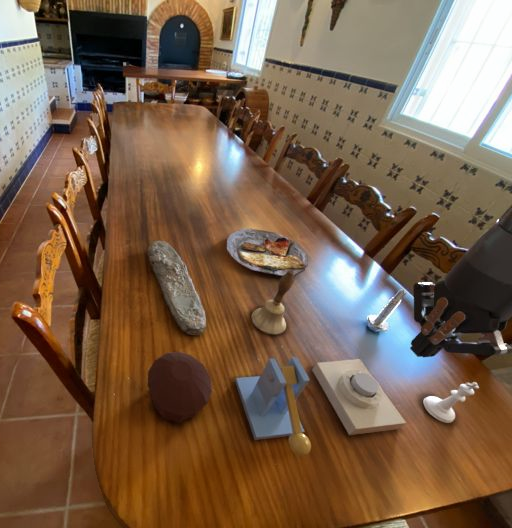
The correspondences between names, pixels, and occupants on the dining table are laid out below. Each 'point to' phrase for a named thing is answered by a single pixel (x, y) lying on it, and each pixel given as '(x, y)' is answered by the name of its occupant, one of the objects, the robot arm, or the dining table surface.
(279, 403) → the lever bracket
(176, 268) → the long grey stone
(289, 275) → the hand bell
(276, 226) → the dining table surface
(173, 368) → the brown rounded faceted lump
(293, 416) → the flush lever
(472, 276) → the robot arm
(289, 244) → the food plate
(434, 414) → the chess piece
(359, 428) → the dial knob panel
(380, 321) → the screw
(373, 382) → the grey push button
